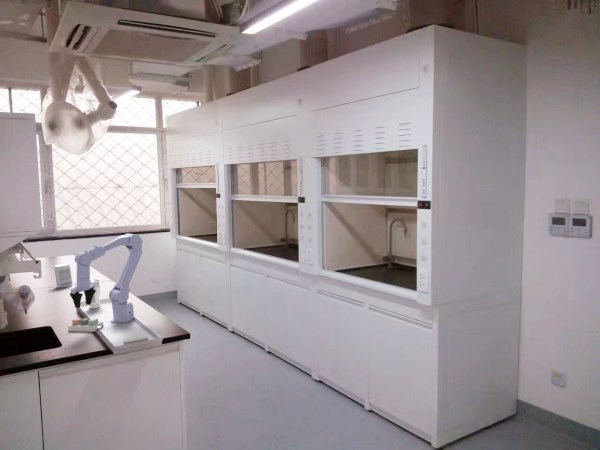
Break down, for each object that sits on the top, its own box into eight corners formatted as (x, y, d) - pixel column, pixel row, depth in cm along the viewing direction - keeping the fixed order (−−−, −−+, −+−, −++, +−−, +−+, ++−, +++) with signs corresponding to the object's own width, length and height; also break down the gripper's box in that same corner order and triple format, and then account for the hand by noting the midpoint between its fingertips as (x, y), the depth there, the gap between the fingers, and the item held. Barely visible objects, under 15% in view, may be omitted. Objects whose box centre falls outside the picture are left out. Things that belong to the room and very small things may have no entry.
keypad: (103, 326, 231) (102, 321, 231) (93, 331, 224) (93, 326, 224) (78, 326, 234) (77, 320, 234) (68, 331, 228) (67, 325, 227)
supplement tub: (75, 284, 327) (73, 263, 325) (66, 287, 318) (63, 266, 316) (63, 284, 329) (60, 263, 327) (53, 288, 320) (50, 266, 318)
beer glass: (85, 308, 265) (82, 282, 263) (95, 304, 271) (92, 279, 269) (95, 309, 262) (92, 282, 261) (104, 305, 269) (101, 279, 267)
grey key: (90, 323, 230) (89, 318, 230) (86, 325, 227) (85, 320, 227) (84, 323, 231) (84, 318, 231) (80, 325, 228) (80, 320, 228)
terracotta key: (82, 323, 231) (81, 318, 231) (77, 325, 228) (77, 320, 228) (76, 322, 232) (76, 318, 232) (72, 325, 229) (72, 320, 229)
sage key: (98, 323, 229) (97, 318, 229) (94, 325, 226) (93, 320, 226) (92, 323, 230) (92, 318, 230) (88, 325, 227) (88, 320, 227)
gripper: (86, 275, 234) (86, 302, 235) (65, 279, 220) (64, 308, 221) (98, 276, 232) (98, 303, 233) (78, 280, 218) (78, 309, 219)
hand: (83, 306), depth 227 cm, fingers open, 7 cm apart
